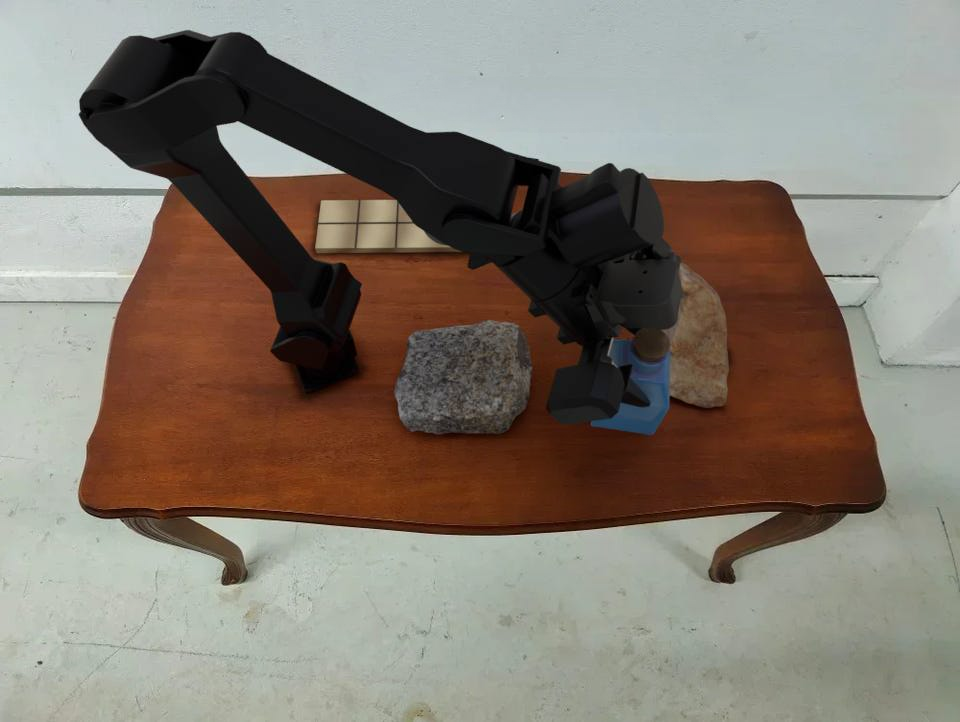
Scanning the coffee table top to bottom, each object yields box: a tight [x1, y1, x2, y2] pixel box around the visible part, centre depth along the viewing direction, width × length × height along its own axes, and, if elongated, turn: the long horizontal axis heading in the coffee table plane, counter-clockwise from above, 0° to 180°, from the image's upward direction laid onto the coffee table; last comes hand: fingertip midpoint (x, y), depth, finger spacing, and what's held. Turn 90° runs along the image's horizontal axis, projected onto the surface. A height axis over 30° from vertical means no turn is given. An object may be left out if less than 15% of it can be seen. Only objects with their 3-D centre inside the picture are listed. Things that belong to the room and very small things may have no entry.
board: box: [314, 198, 463, 254], centre depth 90 cm, size 21×8×1 cm, turn 91°
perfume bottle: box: [590, 328, 671, 436], centre depth 67 cm, size 6×6×12 cm
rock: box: [392, 319, 534, 436], centre depth 76 cm, size 13×6×15 cm
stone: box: [662, 261, 730, 409], centre depth 81 cm, size 17×9×10 cm, turn 172°
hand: (652, 375), depth 66 cm, fingers closed on perfume bottle, 6 cm apart
